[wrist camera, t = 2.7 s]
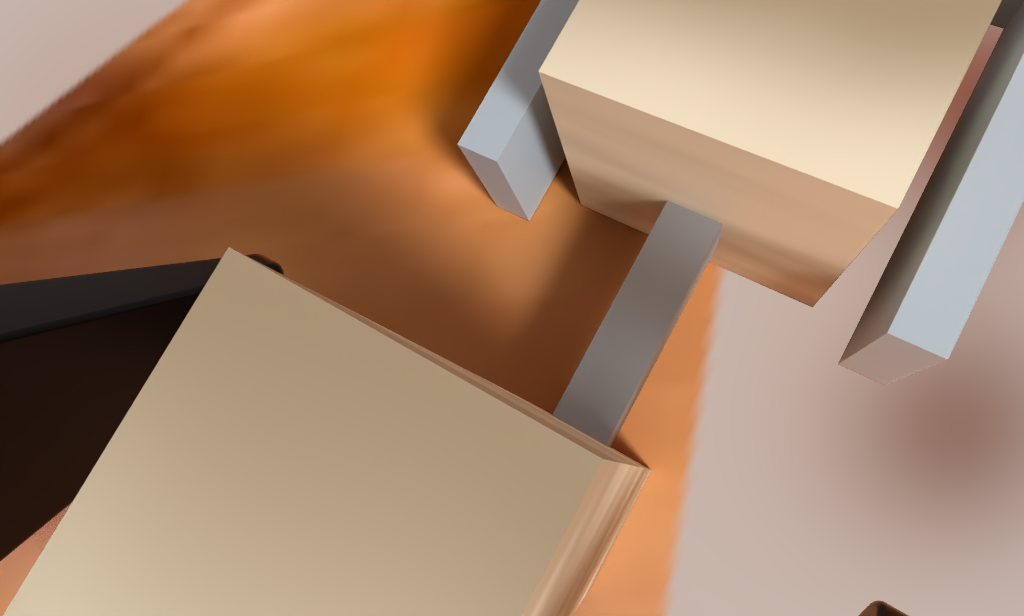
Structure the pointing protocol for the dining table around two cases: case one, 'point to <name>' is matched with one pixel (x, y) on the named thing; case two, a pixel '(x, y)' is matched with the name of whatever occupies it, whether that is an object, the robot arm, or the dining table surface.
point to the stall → (923, 245)
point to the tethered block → (474, 400)
